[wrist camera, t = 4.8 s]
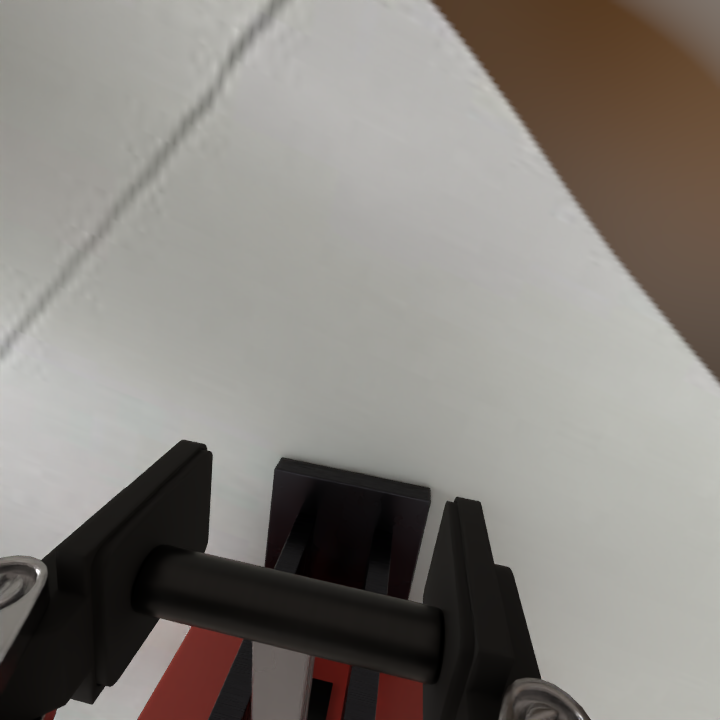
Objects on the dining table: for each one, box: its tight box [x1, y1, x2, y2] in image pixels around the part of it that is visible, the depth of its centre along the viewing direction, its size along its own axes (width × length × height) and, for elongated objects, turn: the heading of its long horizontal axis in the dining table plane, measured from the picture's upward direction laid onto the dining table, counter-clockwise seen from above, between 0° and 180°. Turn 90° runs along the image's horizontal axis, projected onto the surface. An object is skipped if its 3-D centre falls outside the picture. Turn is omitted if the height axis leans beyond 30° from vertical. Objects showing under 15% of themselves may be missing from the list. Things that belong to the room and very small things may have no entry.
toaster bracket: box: [208, 458, 431, 720], centre depth 18 cm, size 9×8×14 cm
